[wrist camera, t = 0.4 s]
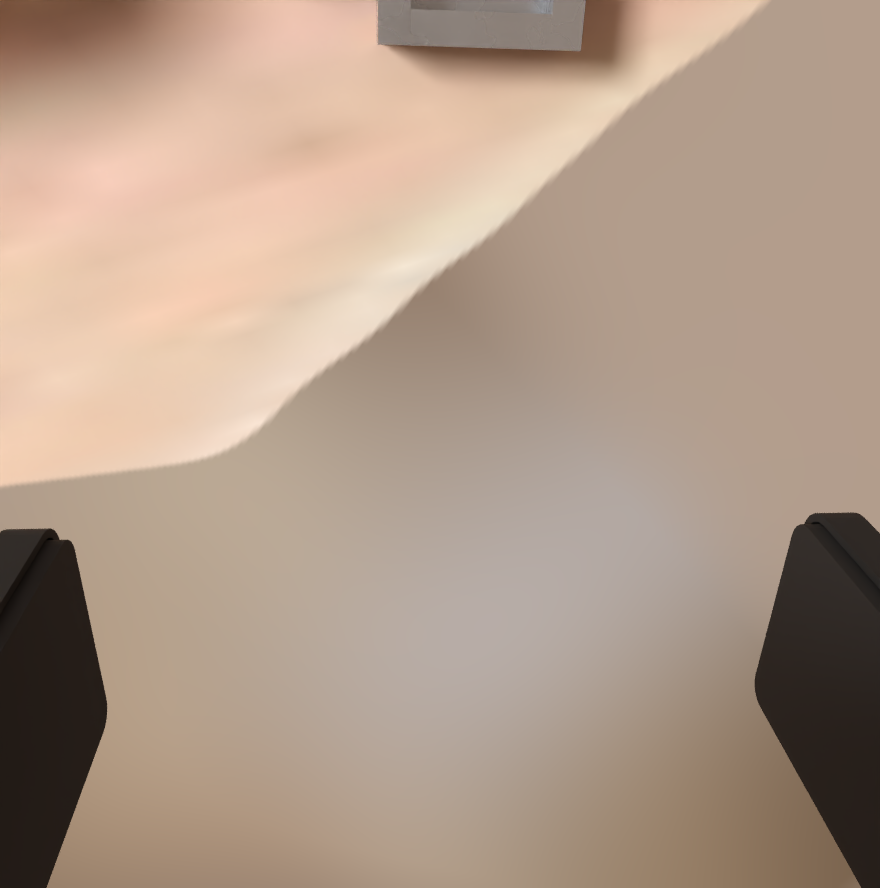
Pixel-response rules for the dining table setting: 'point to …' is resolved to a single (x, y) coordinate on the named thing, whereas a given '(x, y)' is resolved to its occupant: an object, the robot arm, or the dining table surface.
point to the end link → (482, 23)
